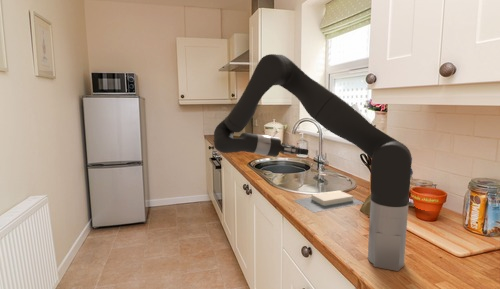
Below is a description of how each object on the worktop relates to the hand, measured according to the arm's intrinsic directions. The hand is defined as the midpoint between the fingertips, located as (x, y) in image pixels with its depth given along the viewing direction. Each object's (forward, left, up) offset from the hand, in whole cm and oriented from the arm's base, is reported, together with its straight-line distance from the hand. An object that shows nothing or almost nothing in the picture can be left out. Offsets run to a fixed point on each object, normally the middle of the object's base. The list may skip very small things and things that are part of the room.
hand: (307, 152), depth 117 cm
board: (+11, -7, -24) cm, 28 cm away
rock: (+2, -25, -24) cm, 35 cm away
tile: (+7, -3, -22) cm, 23 cm away
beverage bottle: (+26, -36, -24) cm, 51 cm away
